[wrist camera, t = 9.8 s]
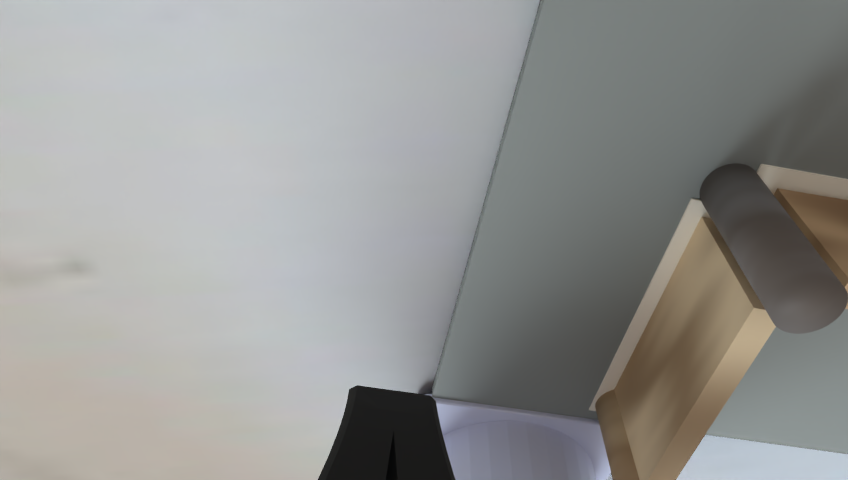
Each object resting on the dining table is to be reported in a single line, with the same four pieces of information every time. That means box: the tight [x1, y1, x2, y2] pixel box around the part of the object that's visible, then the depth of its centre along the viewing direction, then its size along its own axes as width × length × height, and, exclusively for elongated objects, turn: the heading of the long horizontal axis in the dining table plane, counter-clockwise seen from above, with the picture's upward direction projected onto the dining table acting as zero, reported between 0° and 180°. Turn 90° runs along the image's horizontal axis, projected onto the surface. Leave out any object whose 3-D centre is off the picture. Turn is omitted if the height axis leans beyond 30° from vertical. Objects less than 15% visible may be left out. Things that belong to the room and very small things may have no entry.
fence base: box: [595, 163, 848, 480], centre depth 20 cm, size 11×2×5 cm, turn 170°
